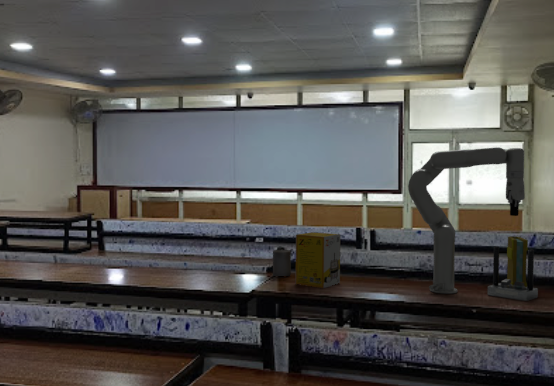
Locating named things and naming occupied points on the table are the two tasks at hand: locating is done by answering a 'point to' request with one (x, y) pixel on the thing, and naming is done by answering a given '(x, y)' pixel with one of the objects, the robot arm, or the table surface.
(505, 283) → the paddle
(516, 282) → the paddle
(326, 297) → the table surface
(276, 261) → the gray lidded canister
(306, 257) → the packaging box
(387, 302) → the table surface
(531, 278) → the gray double-post stand
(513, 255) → the book
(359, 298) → the table surface
